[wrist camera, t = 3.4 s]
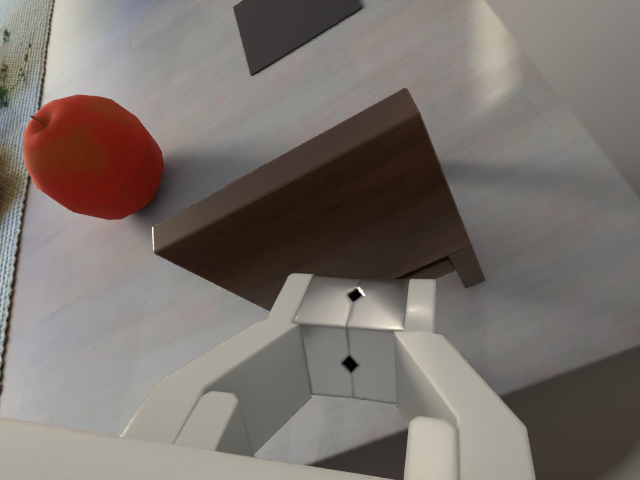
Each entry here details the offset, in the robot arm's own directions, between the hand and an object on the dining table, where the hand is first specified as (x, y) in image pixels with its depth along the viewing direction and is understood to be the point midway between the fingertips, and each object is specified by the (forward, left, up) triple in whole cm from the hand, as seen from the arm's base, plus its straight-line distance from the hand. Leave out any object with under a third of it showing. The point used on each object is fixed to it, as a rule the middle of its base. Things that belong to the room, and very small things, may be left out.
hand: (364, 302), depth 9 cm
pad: (+25, -31, -18) cm, 43 cm away
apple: (+34, -9, -18) cm, 39 cm away
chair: (+8, -7, -18) cm, 21 cm away
